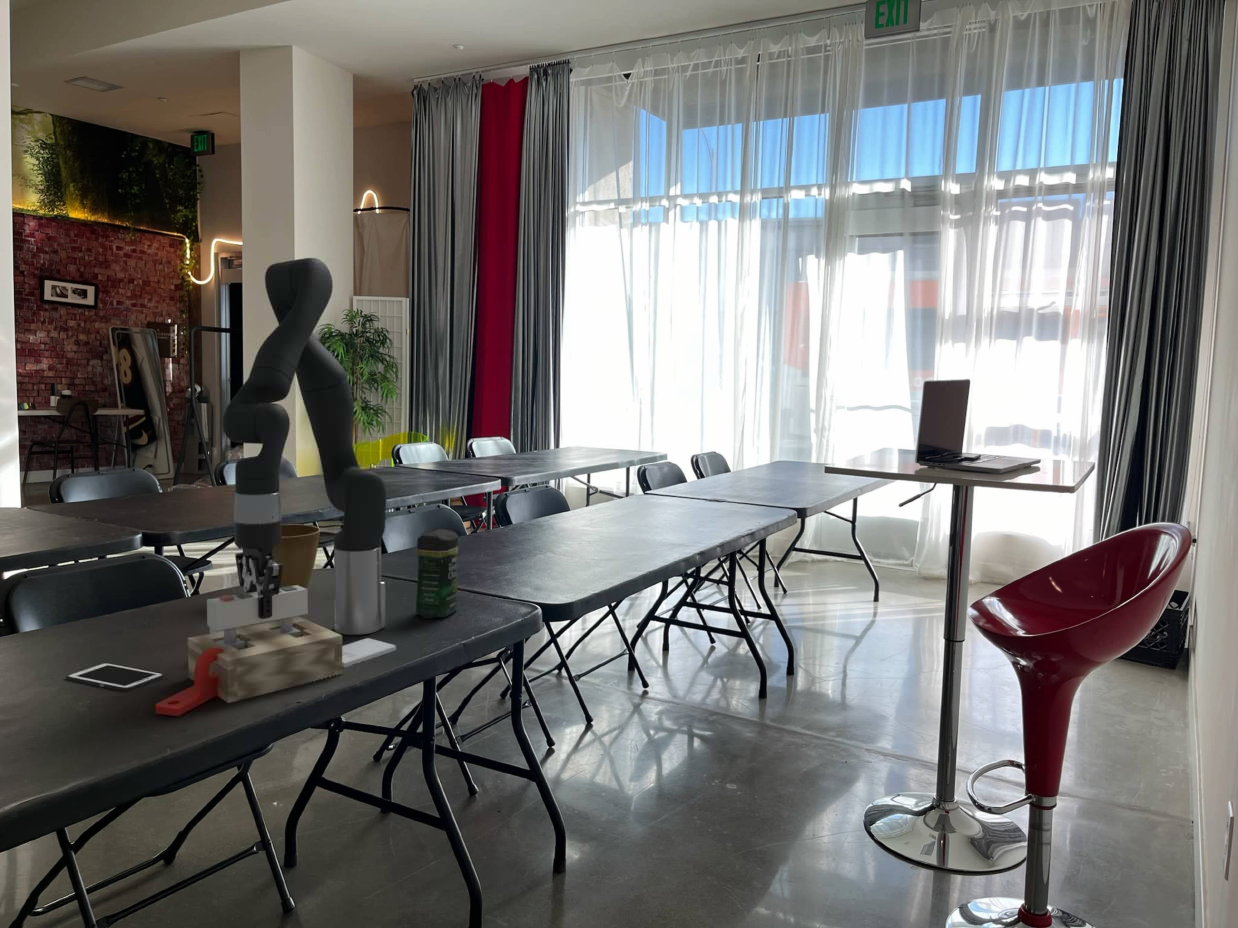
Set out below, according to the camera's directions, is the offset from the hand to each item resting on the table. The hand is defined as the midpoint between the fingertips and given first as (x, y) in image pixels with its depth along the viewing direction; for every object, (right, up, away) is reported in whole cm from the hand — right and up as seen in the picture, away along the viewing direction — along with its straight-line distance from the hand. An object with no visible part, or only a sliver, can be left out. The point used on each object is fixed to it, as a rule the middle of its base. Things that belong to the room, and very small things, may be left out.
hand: (259, 614), depth 154 cm
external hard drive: (+13, -10, +12) cm, 21 cm away
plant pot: (-14, -5, +51) cm, 53 cm away
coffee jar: (+23, -7, +41) cm, 48 cm away
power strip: (0, -5, 0) cm, 5 cm away
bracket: (-6, -12, -13) cm, 18 cm away
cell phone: (-23, -11, -3) cm, 26 cm away
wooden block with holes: (+1, -11, 0) cm, 11 cm away
